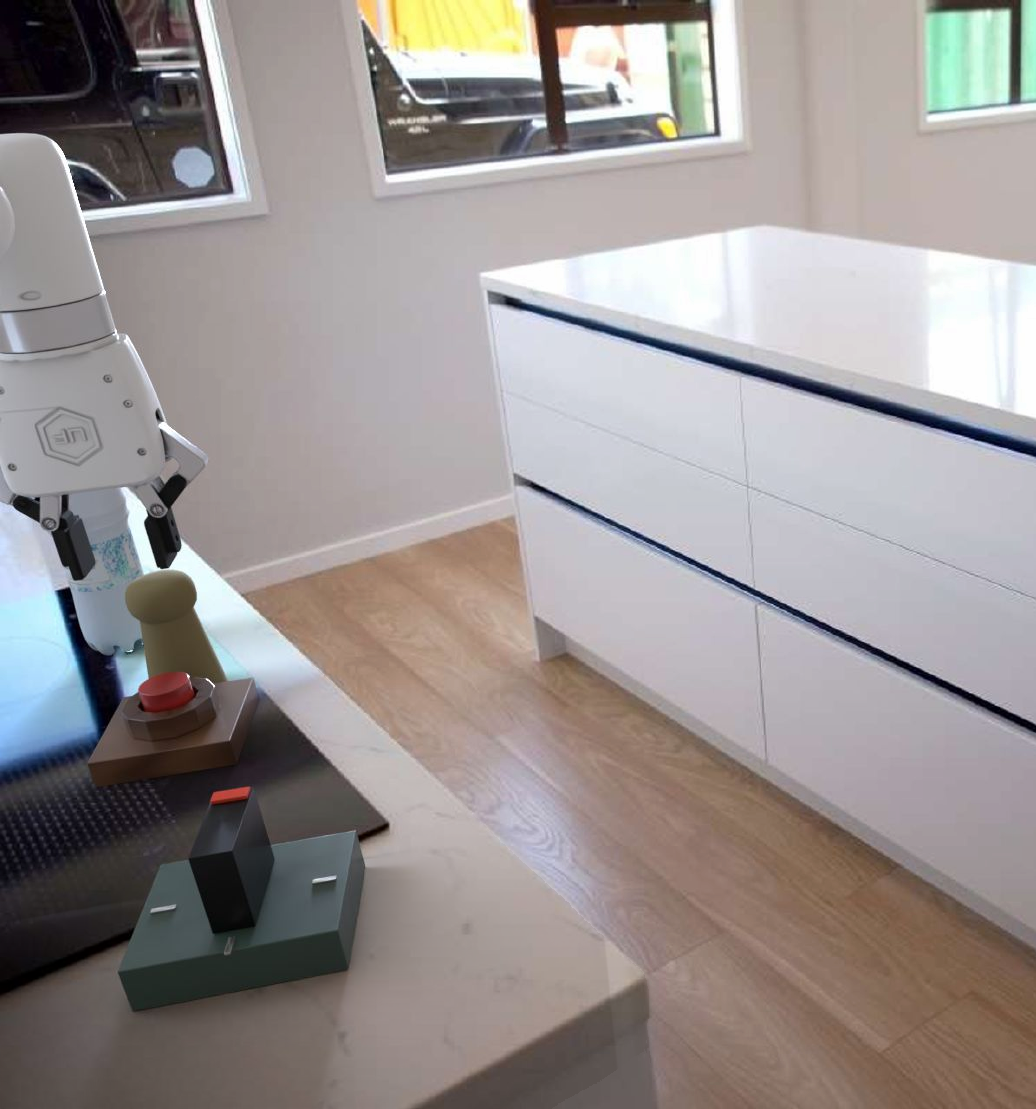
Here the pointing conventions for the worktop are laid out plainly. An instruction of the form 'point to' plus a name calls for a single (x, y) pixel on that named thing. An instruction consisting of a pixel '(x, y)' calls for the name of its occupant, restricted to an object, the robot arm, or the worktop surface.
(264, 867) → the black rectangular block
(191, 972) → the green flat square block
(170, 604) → the olive pawn
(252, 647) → the worktop surface
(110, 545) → the bottle
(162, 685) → the release button
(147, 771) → the brown block
